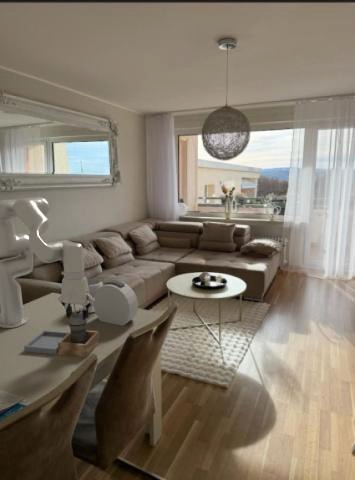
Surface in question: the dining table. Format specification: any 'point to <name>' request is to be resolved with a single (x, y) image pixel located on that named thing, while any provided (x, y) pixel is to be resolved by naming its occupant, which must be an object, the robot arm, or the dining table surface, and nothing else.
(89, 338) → the holder
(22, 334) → the dining table surface
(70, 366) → the dining table surface
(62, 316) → the dining table surface
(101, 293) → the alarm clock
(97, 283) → the chalice
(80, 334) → the beverage cup
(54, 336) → the tray
